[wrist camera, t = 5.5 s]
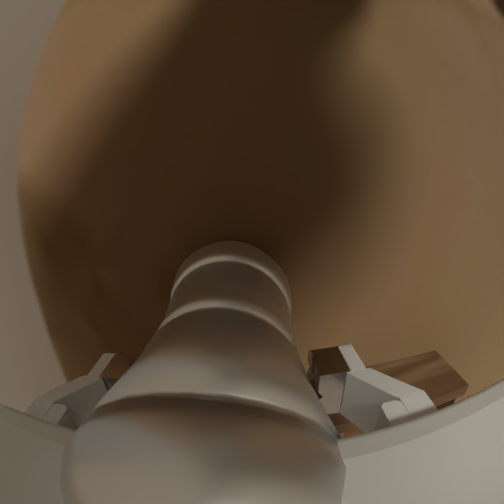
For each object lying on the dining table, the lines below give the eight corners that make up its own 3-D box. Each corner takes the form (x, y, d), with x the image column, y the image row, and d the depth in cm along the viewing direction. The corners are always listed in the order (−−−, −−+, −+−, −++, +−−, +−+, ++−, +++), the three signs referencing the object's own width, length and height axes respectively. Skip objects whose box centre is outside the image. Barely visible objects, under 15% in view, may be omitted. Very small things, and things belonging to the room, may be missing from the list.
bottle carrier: (179, 381, 20) (163, 433, 15) (435, 350, 20) (468, 384, 15) (203, 463, 23) (198, 505, 17) (404, 435, 23) (423, 469, 17)
